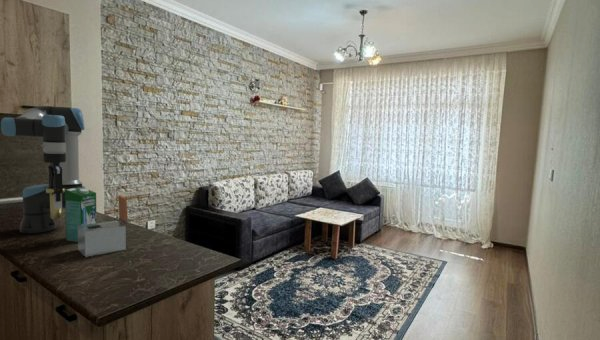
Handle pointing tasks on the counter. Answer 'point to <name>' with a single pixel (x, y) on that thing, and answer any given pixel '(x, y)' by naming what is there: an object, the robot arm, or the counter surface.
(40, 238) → the counter surface
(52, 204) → the brass pin
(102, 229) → the block
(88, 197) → the milk carton
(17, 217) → the counter surface
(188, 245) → the counter surface
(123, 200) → the orange tab
